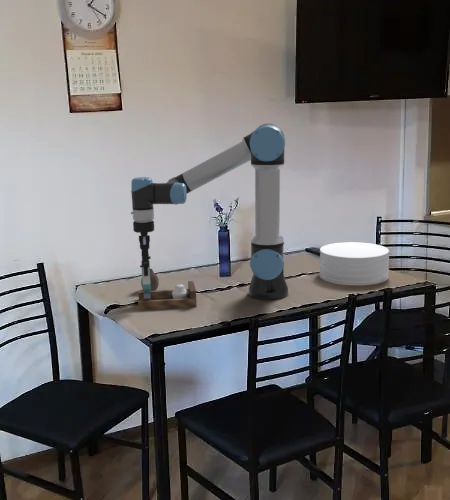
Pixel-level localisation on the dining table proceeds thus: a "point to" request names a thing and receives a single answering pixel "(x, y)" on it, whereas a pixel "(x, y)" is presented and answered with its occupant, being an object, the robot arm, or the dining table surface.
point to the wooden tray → (168, 299)
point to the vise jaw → (146, 288)
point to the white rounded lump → (179, 292)
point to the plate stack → (354, 263)
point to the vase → (153, 281)
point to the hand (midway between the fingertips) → (146, 280)
